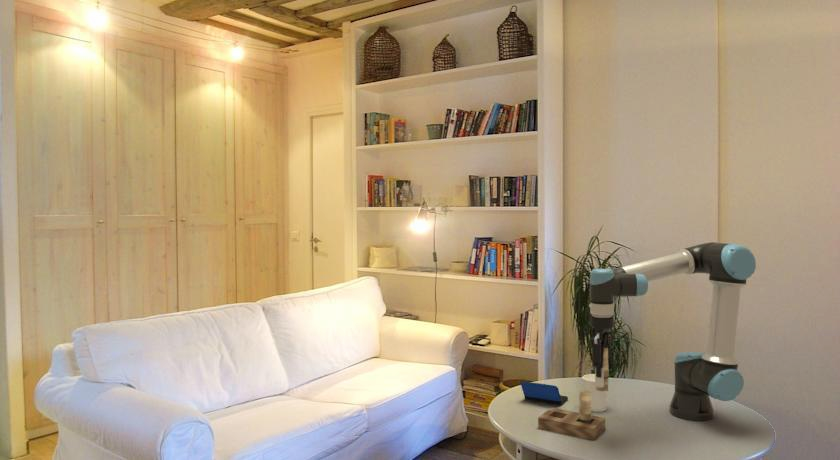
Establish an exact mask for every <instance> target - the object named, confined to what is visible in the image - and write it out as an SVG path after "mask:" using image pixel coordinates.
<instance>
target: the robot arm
mask: <svg viewBox="0 0 840 460" xmlns="http://www.w3.org/2000/svg"><path fill="white" fill-rule="evenodd" d="M756 268H757V263H756V258H755V255H754V254H753V252H752V250H750V249H749V248H748V247H746V246H744V245H742V244H741V245H740V244H737V243H725V242H724V243H723V242H714V241H713V242H712V241H711V242H705V243H701V244H696V245H693V246H689V247H685V248H681V249H679V250H678V252H676V253H673V254H668V255H665V256H660V257H656V258H652V259H648V260H644V261H640V262H636V263H632V264H628V265H623V266H619V267H615V268H611V269H609V268H593V269H592V270H591V271H590V275H589V300H590V302H589V303H590V304H588V307H589V308H590V309H589V310H590V311H589V312H590V317H589V326H590V327H591V328H593V329H595V330H594V331H595V332H594V333H593V336H592V338H591V342H592V367H594V374H595V386H598V387H604V367H603V356H604V347H607V348H608V365H609V364H610V365H611V363H612V361H611V360H612V359H611V358H612V357H611V356H612V355H611V349H612V348H611V344H612V343H611V342H612V341H611V340H612V339H611V338H612V331H610V329H613V328H614V321H615V320H614V314H615V313H614V312H615V310H614V306H615V305H614V304H615V303H614V299H615V298H625V297H635V298H636V297H641V296H642V297H643V296H645V295H646V294H647V292H648V290H649V282H652V281H656V280H662V279H666V278H669V277H673V276H678V275H681V274H685V275H688V276H689V275H693V274H709V275H708V282H710V283H711V285H712V296H711V305H710V315H709V326H708V335H707V345H706V351H705V352H702V351H683V352H678V353H676V354H675V356H674V362H673V363H674V392H673V396H672V398H671V400H670V403H669V413H670V414H671V415H672V416H674V417H677V418H680V419H683V420H689V421H709V420H712V419H713V418H714V417H715V409H714V407H713V404H712V401H711V398H712V399H715V400H719V401H722V402H729V401H732V400H735V399H736V398H737V396H738V397H739V395H740V394H741V392H742V391H743V388H744V385H745V380H744V376H743V375H742V373H741V372H740V371H739V370H738V367H739V362H738V361H737V360H736V358H735V347H736V338H737V337H736V335H737V329H738V328H737V327H738V317H739V309H740V308H739V307H740V297H741V289H742V288H743V287H744V286H746V285H747V279H748V280H749V278H751V277H752V275H753V274H755V271H756ZM710 397H711V398H710Z"/></svg>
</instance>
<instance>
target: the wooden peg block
mask: <svg viewBox="0 0 840 460" xmlns="http://www.w3.org/2000/svg"><path fill="white" fill-rule="evenodd" d="M578 393H579V395H578V398H579V399H578V400H579V403H578V404H579V405H578V406H579V411H578V412H576V411H571V410H566V409H561V408H555V407H550V408H549V409H548V410H546V411H545V412H544V413H542V414H541V415H539V416H538V418H537V423H538V424H537V425H538V426H537V428H538V429H539V430H545V431H548V432H553V433H558V434H561V435H562V434H563V435H567V436H571V437H577V438H581V439H584V440H585V439H586V440H590V441H595V440H596V439H597V438H598V437H599V436H601V434H602V433H603V432H604V431H605V430H606V417H602V416H597V415H593V414H592V411H591V392H590V391H587V390H583V389H581V390H579V392H578Z"/></svg>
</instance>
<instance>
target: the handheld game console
mask: <svg viewBox="0 0 840 460" xmlns="http://www.w3.org/2000/svg"><path fill="white" fill-rule="evenodd" d="M520 386H521V390H522V392H523V396H524V401H529V402H531V401H532V402H536V403H544V404H548V405H555V406H562V405H563V404H565V402H567V401H568V400H569V399H568V398H569V397H568V396H566V395H561V394H560V390H559V388H558V386H557V385H552V384H545V383H538V382H530V381H523V380H522V381H521V382H520Z"/></svg>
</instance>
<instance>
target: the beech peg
mask: <svg viewBox="0 0 840 460" xmlns="http://www.w3.org/2000/svg"><path fill="white" fill-rule="evenodd" d="M603 367H604V387H598V386H596V390H598V391H608V392H609V381H608V378H609V363H608V348H607V347H604V356H603Z"/></svg>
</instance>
